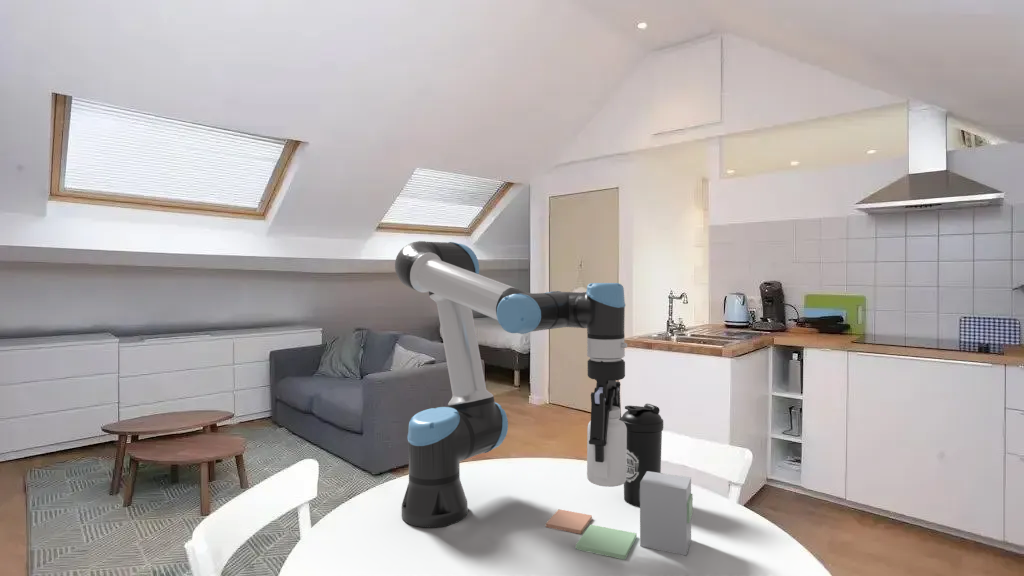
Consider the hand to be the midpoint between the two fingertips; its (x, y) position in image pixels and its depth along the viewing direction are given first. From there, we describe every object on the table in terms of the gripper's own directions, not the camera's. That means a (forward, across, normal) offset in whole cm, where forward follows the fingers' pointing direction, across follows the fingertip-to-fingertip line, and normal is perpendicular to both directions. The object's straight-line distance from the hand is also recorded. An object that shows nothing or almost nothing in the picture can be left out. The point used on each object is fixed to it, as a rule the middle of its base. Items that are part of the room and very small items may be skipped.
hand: (606, 469), depth 113 cm
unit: (+15, +5, -11) cm, 19 cm away
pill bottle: (+2, 0, 0) cm, 2 cm away
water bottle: (+15, +24, -2) cm, 29 cm away
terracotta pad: (+15, +6, +10) cm, 19 cm away
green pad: (+15, 0, 0) cm, 15 cm away
